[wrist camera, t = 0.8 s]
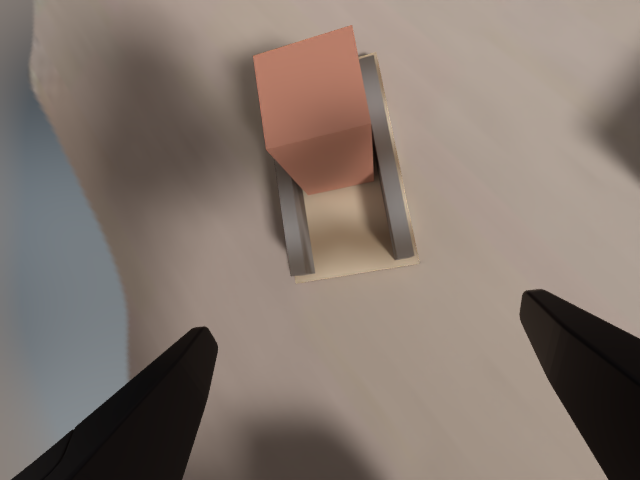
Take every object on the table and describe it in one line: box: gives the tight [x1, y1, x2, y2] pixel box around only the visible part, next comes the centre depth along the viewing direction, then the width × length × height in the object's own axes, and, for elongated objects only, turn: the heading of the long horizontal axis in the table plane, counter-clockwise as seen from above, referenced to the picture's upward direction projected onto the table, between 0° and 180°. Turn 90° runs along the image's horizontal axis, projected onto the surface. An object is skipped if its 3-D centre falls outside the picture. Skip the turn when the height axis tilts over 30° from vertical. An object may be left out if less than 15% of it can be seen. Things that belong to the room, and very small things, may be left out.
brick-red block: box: [253, 25, 374, 195], centre depth 18 cm, size 5×5×8 cm
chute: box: [274, 52, 420, 283], centre depth 21 cm, size 16×9×4 cm, turn 9°
